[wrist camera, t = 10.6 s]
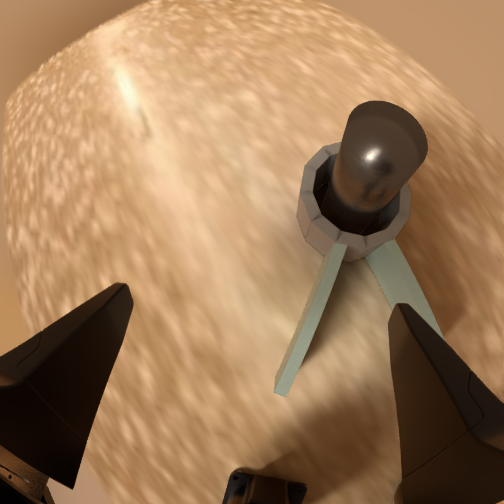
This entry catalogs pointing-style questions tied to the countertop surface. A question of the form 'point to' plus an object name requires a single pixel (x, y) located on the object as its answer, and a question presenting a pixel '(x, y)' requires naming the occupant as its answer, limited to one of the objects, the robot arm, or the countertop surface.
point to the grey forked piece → (348, 259)
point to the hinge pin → (372, 164)
